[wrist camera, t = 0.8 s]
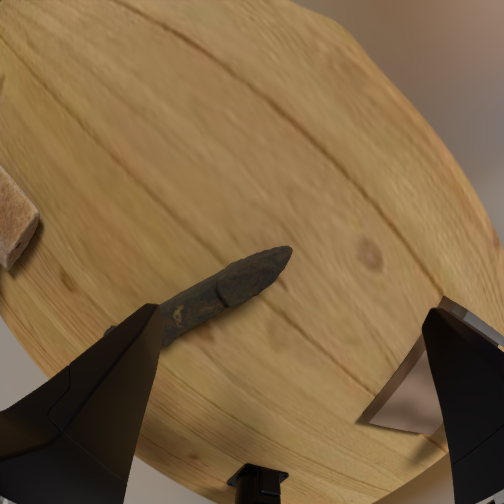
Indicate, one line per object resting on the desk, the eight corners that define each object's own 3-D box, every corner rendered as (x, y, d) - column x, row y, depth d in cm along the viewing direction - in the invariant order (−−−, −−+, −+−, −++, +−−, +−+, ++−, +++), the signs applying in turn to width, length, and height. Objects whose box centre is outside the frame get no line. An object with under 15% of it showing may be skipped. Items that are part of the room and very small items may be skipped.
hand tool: (134, 354, 26) (117, 378, 22) (112, 323, 26) (91, 343, 21) (302, 273, 25) (313, 289, 20) (281, 232, 24) (288, 240, 19)
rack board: (426, 426, 28) (439, 445, 24) (363, 412, 27) (374, 437, 23) (494, 331, 25) (514, 345, 21) (444, 295, 25) (468, 310, 20)
